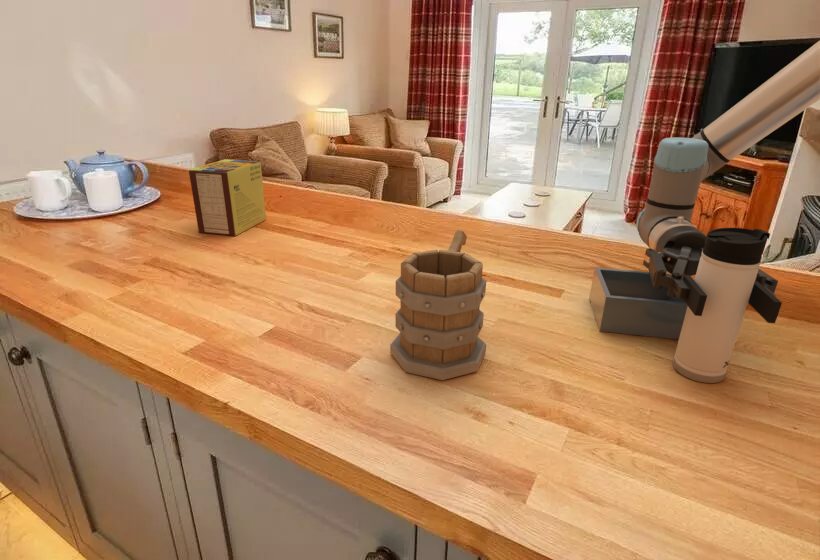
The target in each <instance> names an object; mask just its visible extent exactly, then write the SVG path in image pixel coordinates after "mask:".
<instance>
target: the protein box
mask: <svg viewBox="0 0 820 560" xmlns="http://www.w3.org/2000/svg"><path fill="white" fill-rule="evenodd" d="M261 162H262V161H259V160H244V159H241V160H240V159H229V158H227V159H226V158H224V159H221V160H218V161H214V162H211V163H207V164H204V165H200V166H197V167H193V168H190V169H188V175H189V182H190V187H191V193H192V199H193V205H194V212H195V218H196V223H197V230H198V233H200V234H211V235H221V236H232V237H236V236H238V235H240V234H242V233H243V232H245V231H247V230H249V229H252V228H253V227H255V226H257V225H259V224H261V223H263V222H264V221H266V220H267V212H266V202H265V192H264V183H263V173H262V172H263V171H262V163H261Z"/></svg>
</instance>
